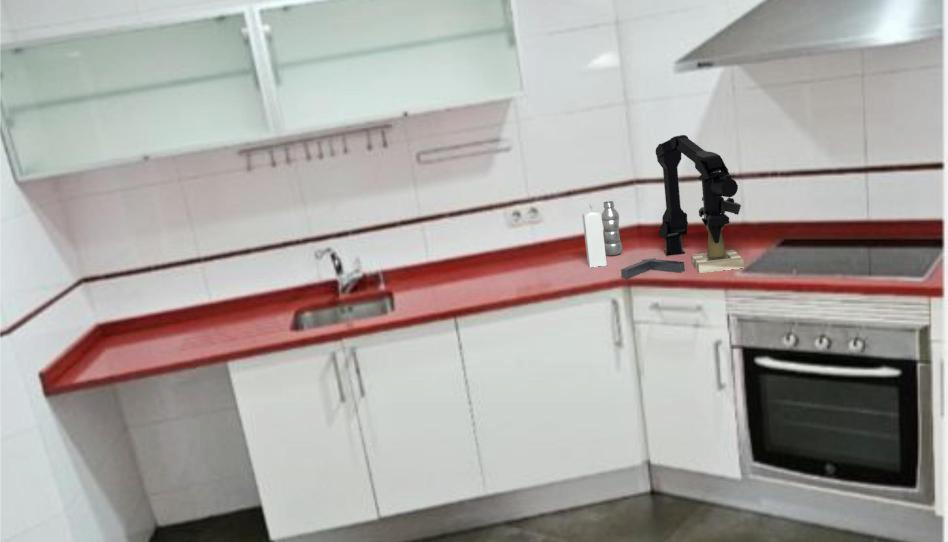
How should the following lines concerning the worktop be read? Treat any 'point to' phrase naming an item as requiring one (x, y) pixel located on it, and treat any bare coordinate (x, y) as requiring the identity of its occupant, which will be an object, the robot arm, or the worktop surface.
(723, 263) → the cream wooden slatted block
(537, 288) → the worktop surface
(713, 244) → the cork
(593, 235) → the milk
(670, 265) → the v-block
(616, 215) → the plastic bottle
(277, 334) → the worktop surface
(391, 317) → the worktop surface
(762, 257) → the worktop surface
